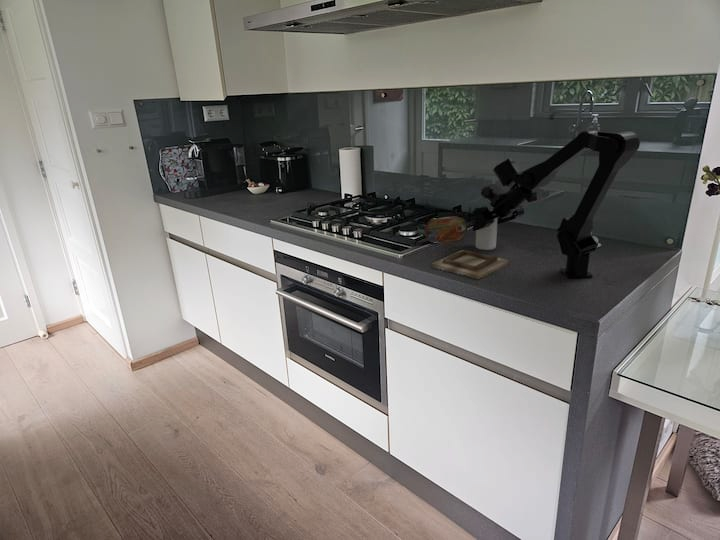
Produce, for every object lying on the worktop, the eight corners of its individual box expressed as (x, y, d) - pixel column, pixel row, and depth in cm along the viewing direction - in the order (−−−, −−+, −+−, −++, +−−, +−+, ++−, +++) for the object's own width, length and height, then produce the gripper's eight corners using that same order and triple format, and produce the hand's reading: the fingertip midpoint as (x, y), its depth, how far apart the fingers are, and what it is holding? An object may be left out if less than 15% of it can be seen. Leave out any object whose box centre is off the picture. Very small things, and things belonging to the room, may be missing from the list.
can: (496, 250, 156) (498, 214, 151) (475, 250, 157) (477, 214, 153) (495, 244, 162) (497, 209, 157) (475, 244, 163) (476, 209, 159)
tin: (426, 245, 164) (426, 220, 162) (423, 242, 167) (423, 218, 164) (467, 239, 168) (468, 216, 165) (463, 237, 171) (464, 214, 168)
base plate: (508, 264, 144) (508, 256, 143) (479, 279, 134) (479, 272, 133) (462, 253, 155) (462, 246, 154) (431, 267, 144) (431, 260, 144)
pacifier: (604, 246, 156) (587, 241, 161) (608, 227, 154) (590, 223, 159) (592, 251, 152) (574, 246, 157) (595, 232, 150) (577, 227, 155)
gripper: (519, 173, 153) (489, 202, 165) (478, 181, 143) (450, 211, 156) (538, 201, 150) (507, 229, 162) (498, 212, 140) (467, 240, 152)
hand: (483, 226), depth 158 cm, fingers open, 9 cm apart
